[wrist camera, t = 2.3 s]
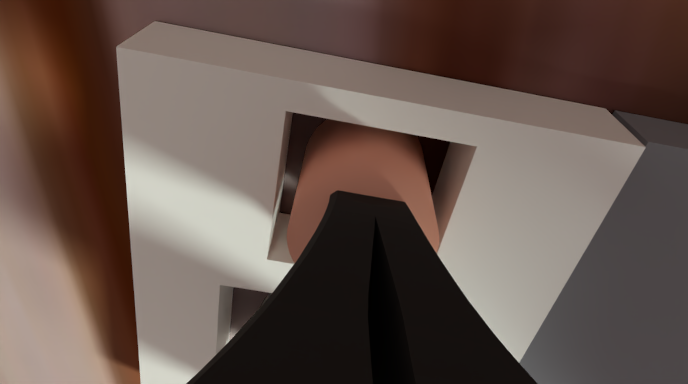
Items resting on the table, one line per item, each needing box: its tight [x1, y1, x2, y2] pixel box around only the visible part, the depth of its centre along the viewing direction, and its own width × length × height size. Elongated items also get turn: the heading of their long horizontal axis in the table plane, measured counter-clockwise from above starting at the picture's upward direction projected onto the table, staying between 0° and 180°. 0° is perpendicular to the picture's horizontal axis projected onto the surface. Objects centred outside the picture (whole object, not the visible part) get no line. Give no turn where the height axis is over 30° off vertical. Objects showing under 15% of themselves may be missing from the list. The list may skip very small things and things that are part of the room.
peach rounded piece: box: [287, 119, 439, 263], centre depth 10 cm, size 3×3×3 cm
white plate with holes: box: [116, 21, 646, 384], centre depth 13 cm, size 10×12×2 cm
